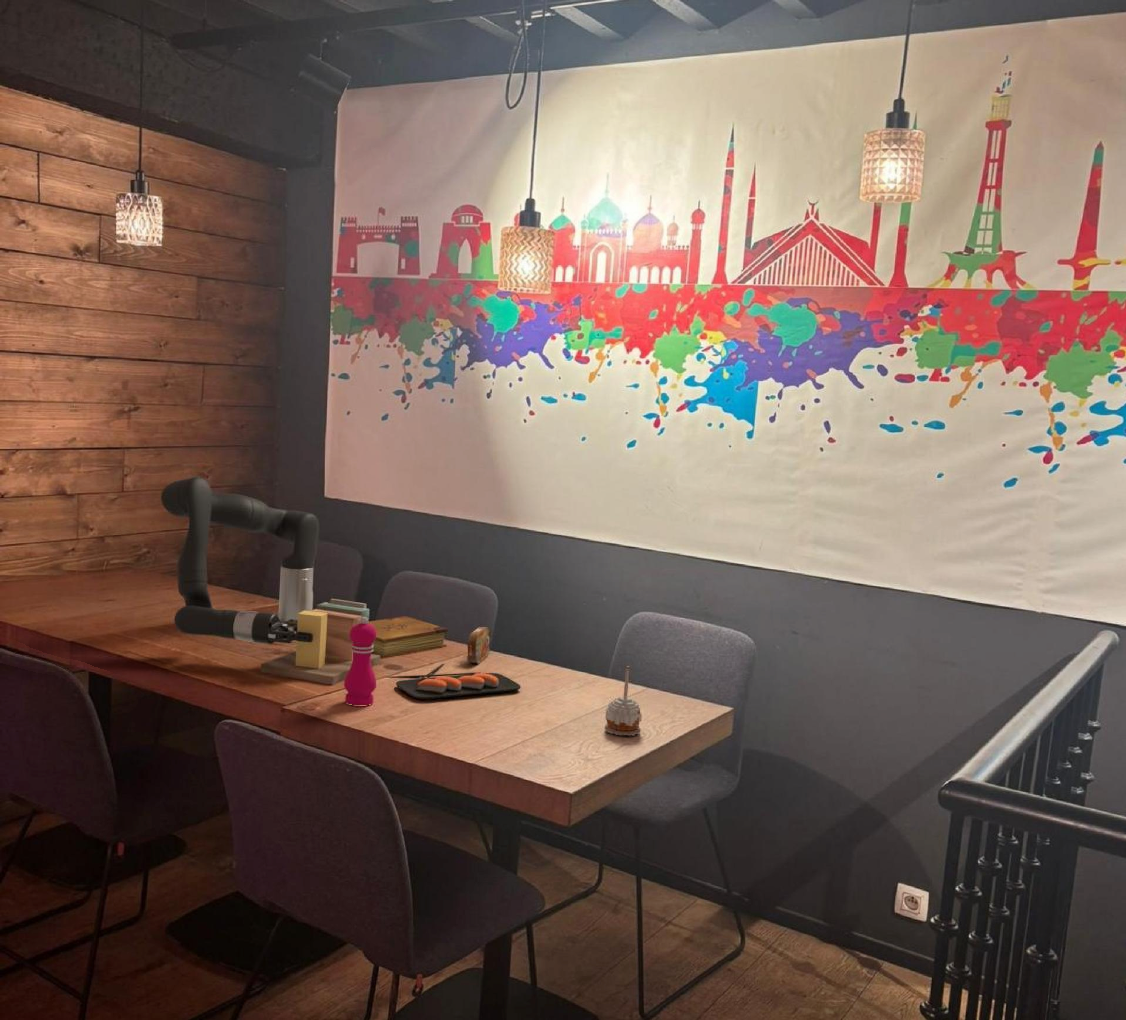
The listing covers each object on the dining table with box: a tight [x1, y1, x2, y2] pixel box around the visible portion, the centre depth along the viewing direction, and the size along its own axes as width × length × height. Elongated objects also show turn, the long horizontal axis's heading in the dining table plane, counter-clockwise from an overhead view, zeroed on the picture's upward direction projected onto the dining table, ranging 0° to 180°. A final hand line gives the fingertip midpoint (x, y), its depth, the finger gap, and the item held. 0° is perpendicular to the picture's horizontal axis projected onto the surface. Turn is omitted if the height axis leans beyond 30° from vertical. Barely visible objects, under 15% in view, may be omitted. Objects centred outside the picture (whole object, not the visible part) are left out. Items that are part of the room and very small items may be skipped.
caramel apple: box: [604, 665, 642, 736], centre depth 240 cm, size 8×8×15 cm
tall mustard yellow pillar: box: [295, 611, 327, 668], centre depth 267 cm, size 4×6×13 cm, turn 81°
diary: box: [369, 615, 449, 659], centre depth 301 cm, size 23×19×6 cm
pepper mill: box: [343, 617, 377, 706], centre depth 246 cm, size 7×7×20 cm
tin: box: [467, 626, 492, 665], centre depth 292 cm, size 15×3×8 cm, turn 168°
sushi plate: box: [387, 663, 522, 700], centre depth 270 cm, size 29×30×4 cm
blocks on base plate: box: [260, 598, 382, 686], centre depth 273 cm, size 24×20×15 cm
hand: (319, 634), depth 266 cm, fingers open, 8 cm apart
